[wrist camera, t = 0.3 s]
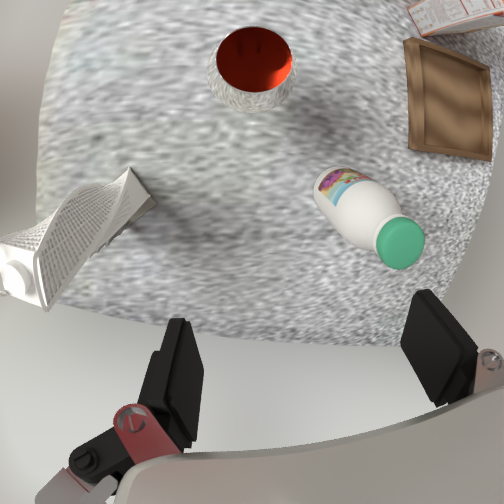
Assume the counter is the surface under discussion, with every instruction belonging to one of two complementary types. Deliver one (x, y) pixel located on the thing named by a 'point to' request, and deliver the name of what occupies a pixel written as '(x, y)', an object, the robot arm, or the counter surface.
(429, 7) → the cracker box
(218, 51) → the wineglass
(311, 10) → the counter surface
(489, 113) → the walnut tray
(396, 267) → the milk bottle
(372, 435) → the robot arm
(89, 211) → the skyscraper
